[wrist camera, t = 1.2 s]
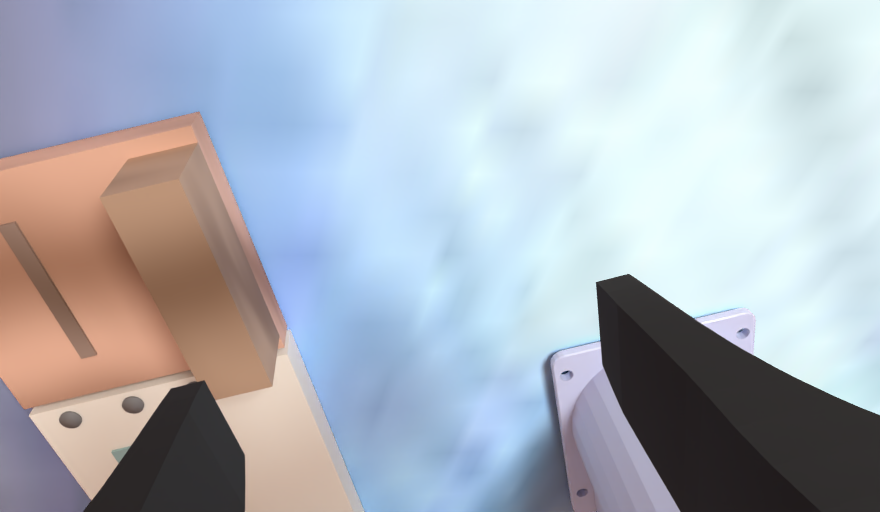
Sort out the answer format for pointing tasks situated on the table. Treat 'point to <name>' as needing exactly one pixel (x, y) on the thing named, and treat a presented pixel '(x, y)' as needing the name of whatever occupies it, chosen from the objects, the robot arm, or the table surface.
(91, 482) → the stove control panel
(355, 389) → the table surface
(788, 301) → the table surface
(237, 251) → the stub
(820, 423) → the robot arm
